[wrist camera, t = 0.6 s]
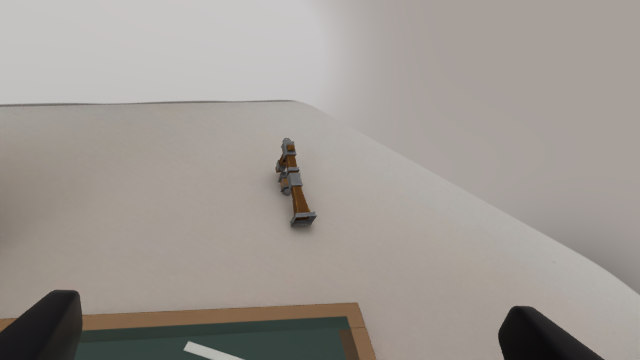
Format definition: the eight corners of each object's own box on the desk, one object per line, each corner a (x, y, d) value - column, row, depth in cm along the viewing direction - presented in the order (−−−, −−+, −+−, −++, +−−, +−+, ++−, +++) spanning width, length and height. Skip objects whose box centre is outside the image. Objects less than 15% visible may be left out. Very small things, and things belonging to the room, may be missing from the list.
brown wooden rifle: (285, 159, 43) (298, 132, 39) (302, 236, 40) (317, 214, 36) (267, 160, 42) (278, 133, 39) (283, 238, 39) (296, 216, 35)
